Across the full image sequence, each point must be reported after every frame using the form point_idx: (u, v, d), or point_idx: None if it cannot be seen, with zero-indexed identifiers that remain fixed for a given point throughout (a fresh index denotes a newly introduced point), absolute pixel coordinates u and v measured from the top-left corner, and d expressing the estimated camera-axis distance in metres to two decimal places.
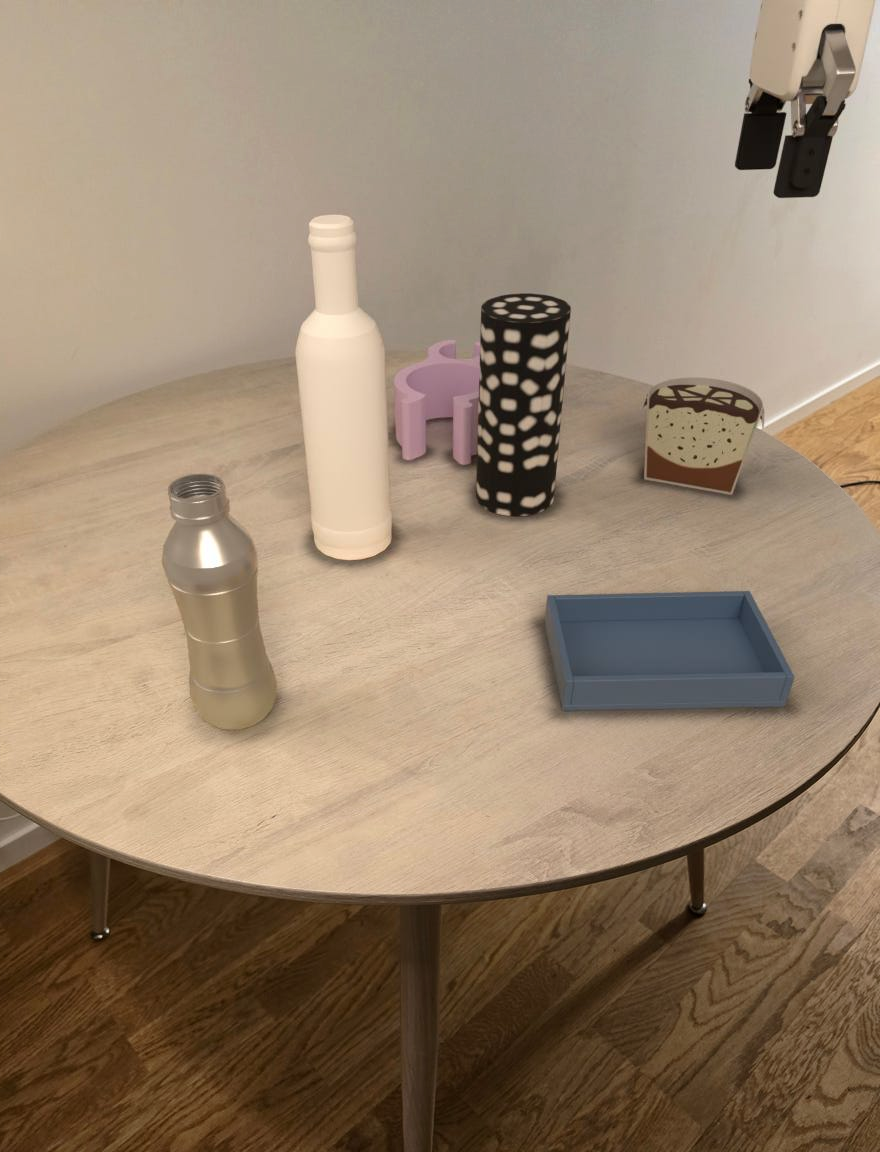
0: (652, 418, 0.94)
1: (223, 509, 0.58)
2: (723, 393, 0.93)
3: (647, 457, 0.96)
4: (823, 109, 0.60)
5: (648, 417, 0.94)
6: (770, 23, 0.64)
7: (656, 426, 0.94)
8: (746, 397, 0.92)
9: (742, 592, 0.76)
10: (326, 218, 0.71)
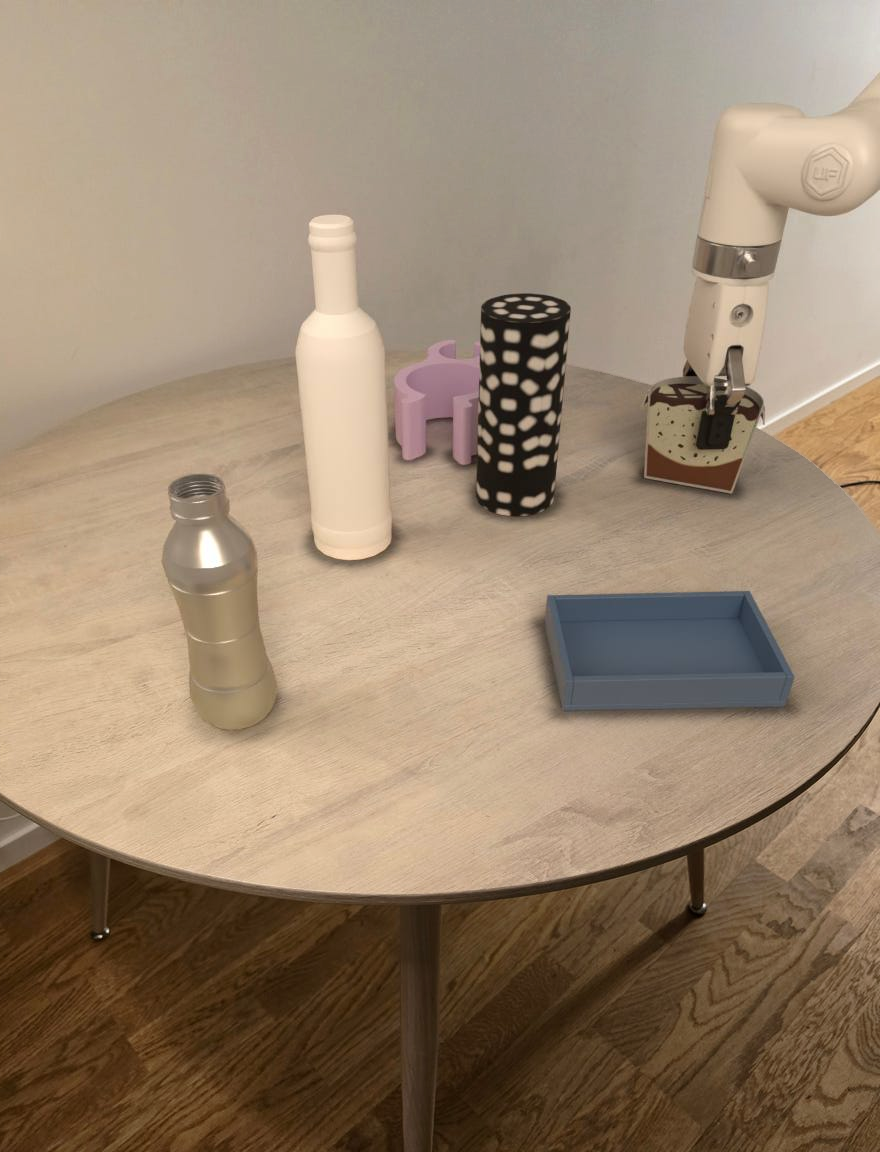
0: (653, 416, 0.94)
1: (223, 509, 0.58)
2: (723, 392, 0.93)
3: (647, 455, 0.96)
4: (725, 404, 0.86)
5: (649, 414, 0.94)
6: (694, 328, 0.89)
7: (657, 423, 0.94)
8: (747, 396, 0.92)
9: (742, 592, 0.76)
10: (326, 218, 0.71)
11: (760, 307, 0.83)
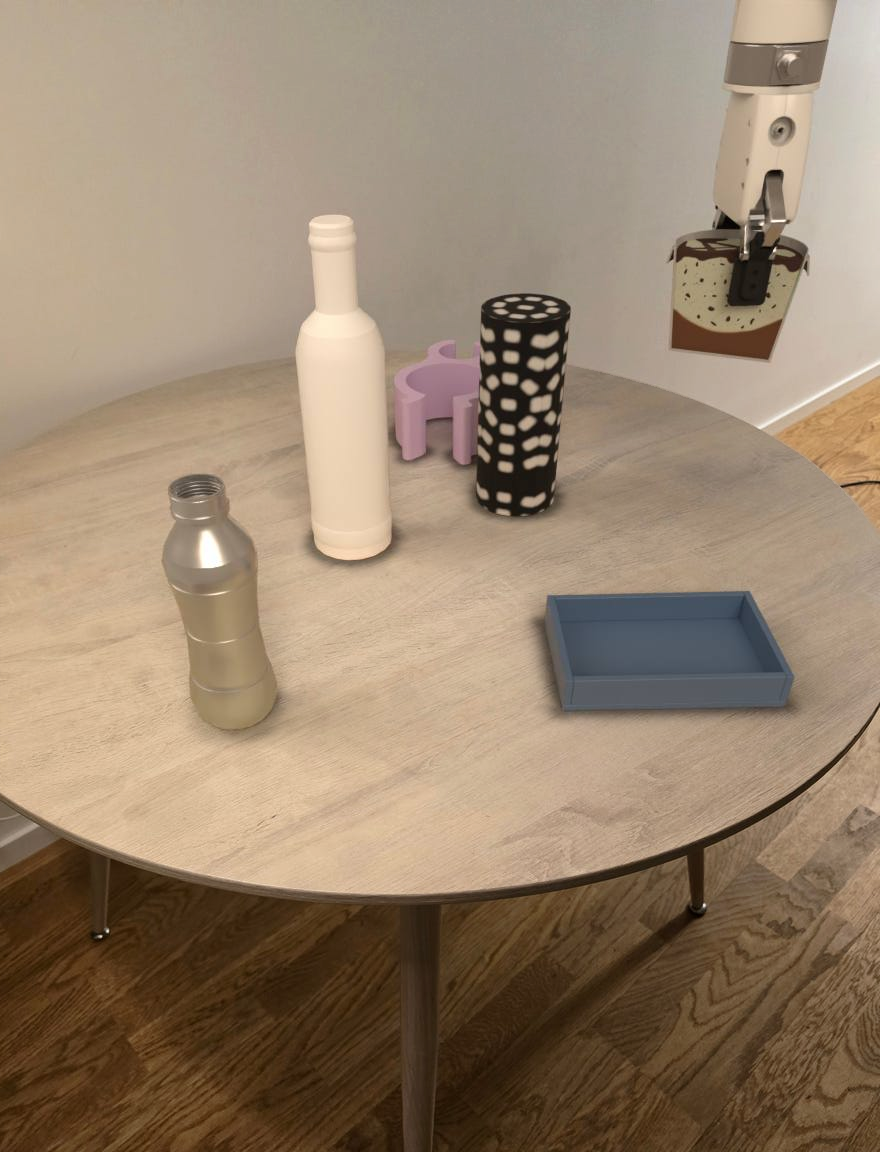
0: (679, 274, 0.82)
1: (223, 509, 0.58)
2: None
3: (673, 323, 0.85)
4: (762, 242, 0.75)
5: (675, 273, 0.82)
6: (726, 161, 0.77)
7: (684, 283, 0.82)
8: (787, 247, 0.81)
9: (742, 592, 0.76)
10: (326, 218, 0.71)
11: (803, 121, 0.71)
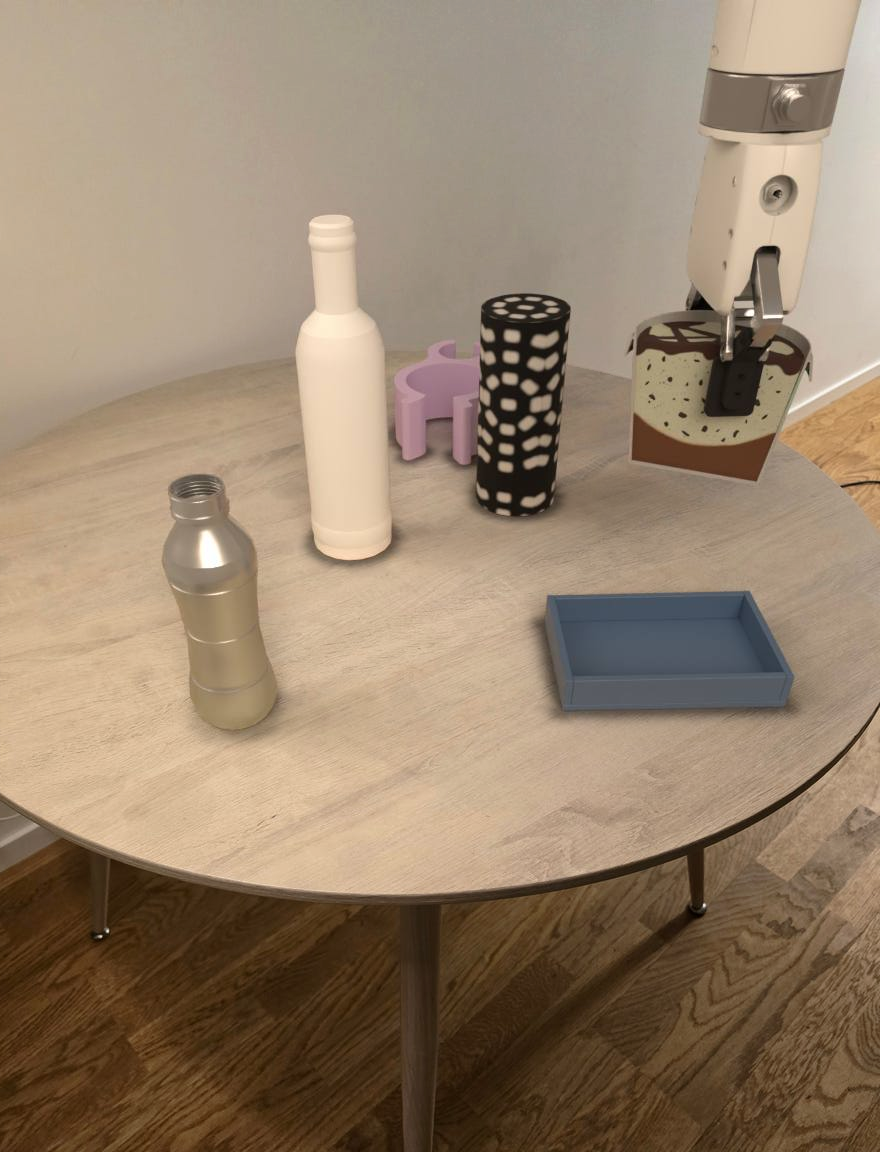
0: (641, 370, 0.62)
1: (223, 509, 0.58)
2: None
3: (633, 430, 0.65)
4: (750, 342, 0.55)
5: (635, 368, 0.62)
6: (703, 227, 0.58)
7: (647, 382, 0.63)
8: (782, 338, 0.61)
9: (742, 592, 0.76)
10: (326, 218, 0.71)
11: (809, 181, 0.51)
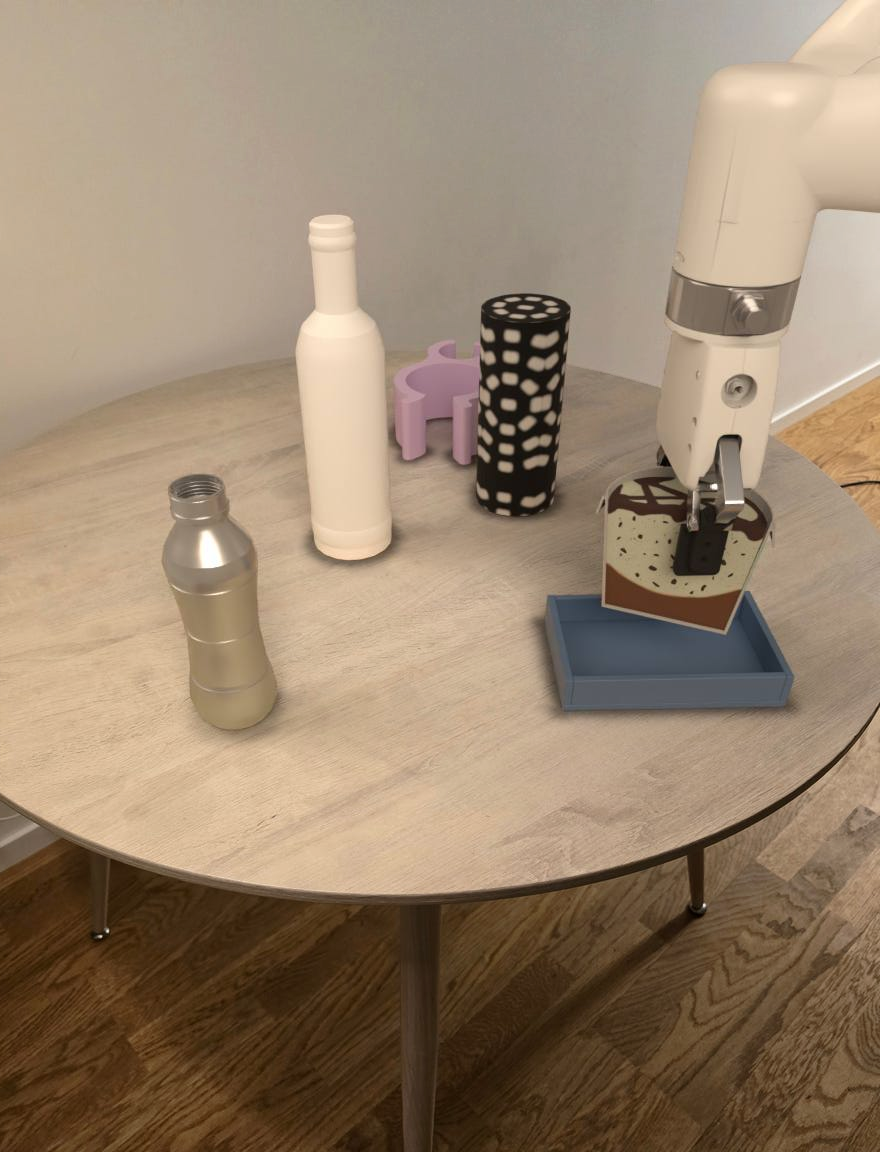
0: (612, 526, 0.65)
1: (223, 509, 0.58)
2: (713, 492, 0.65)
3: (606, 578, 0.68)
4: (714, 520, 0.57)
5: (607, 524, 0.65)
6: (670, 402, 0.60)
7: (619, 537, 0.65)
8: (747, 500, 0.63)
9: None
10: (326, 218, 0.71)
11: (767, 379, 0.54)
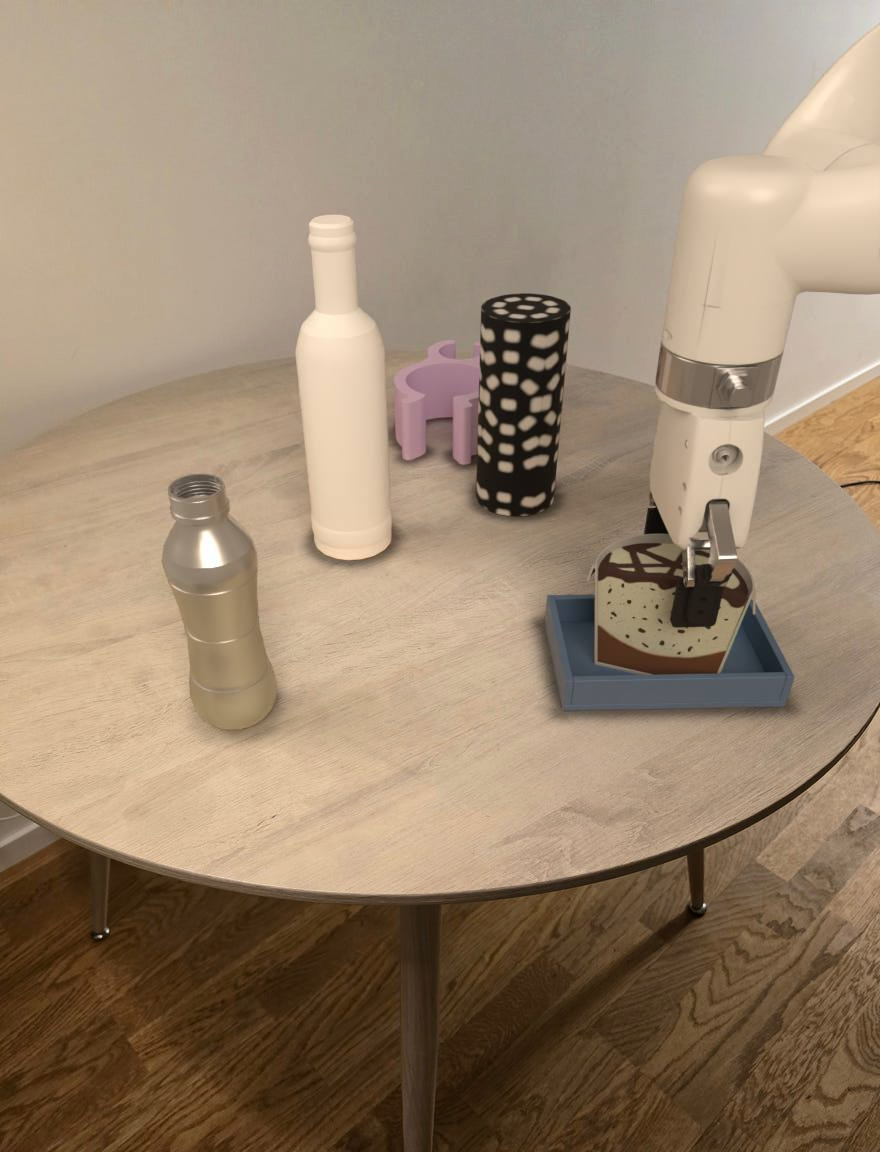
0: (603, 592, 0.69)
1: (223, 509, 0.58)
2: (698, 558, 0.68)
3: (598, 638, 0.71)
4: (709, 579, 0.59)
5: (597, 590, 0.69)
6: (661, 464, 0.63)
7: (609, 602, 0.69)
8: None
9: None
10: (326, 218, 0.71)
11: (753, 449, 0.57)
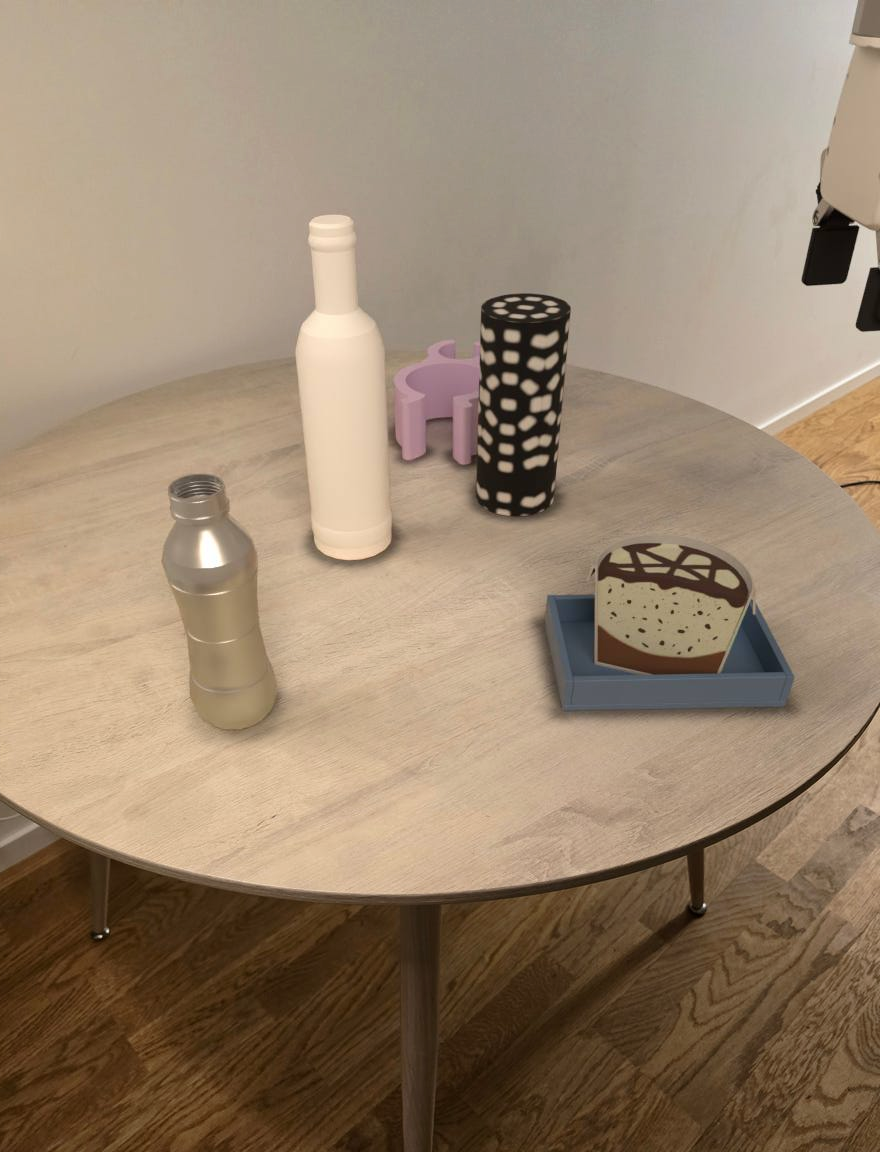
0: (603, 592, 0.69)
1: (223, 509, 0.58)
2: (698, 558, 0.68)
3: (598, 638, 0.71)
4: None
5: (597, 590, 0.69)
6: (849, 144, 0.58)
7: (609, 602, 0.69)
8: (730, 566, 0.67)
9: None
10: (326, 218, 0.71)
11: None
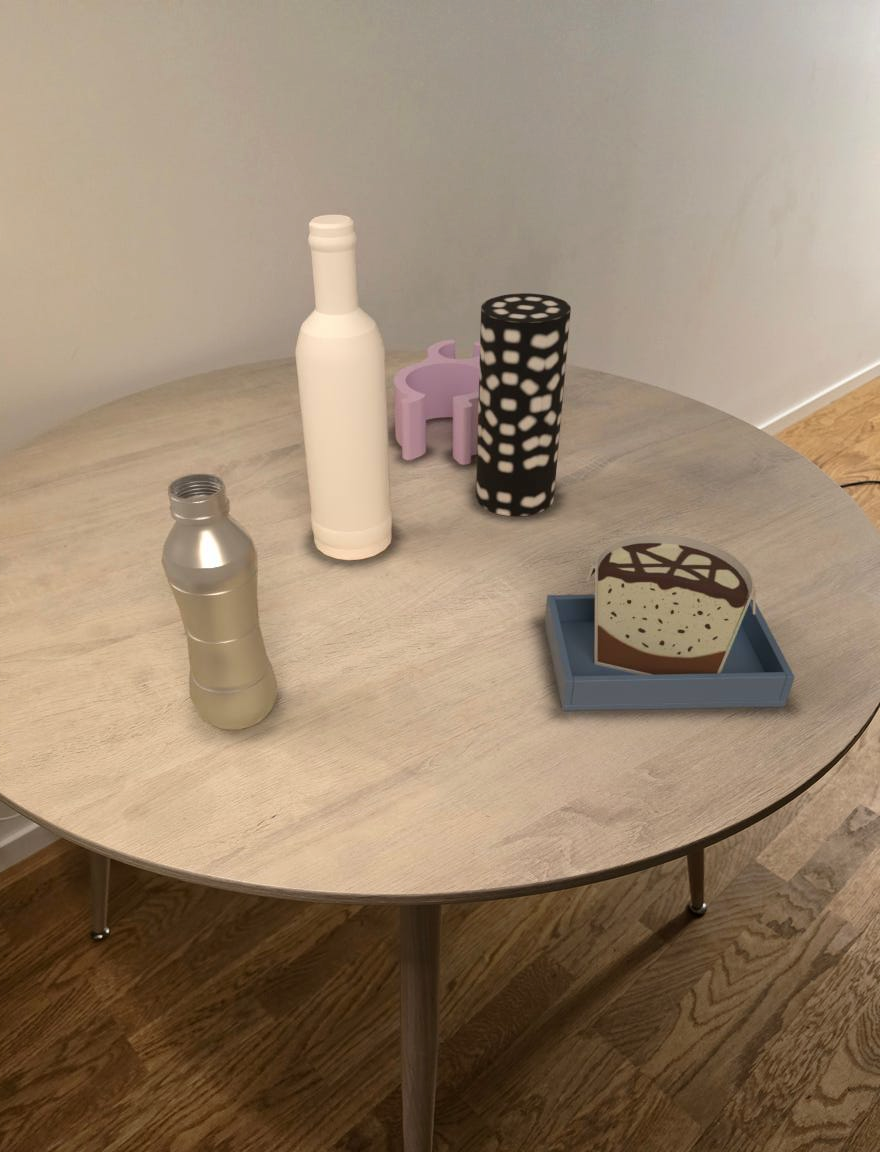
0: (603, 592, 0.69)
1: (223, 509, 0.58)
2: (698, 558, 0.68)
3: (598, 638, 0.71)
4: None
5: (597, 590, 0.69)
6: None
7: (609, 602, 0.69)
8: (730, 566, 0.67)
9: None
10: (326, 218, 0.71)
11: None
